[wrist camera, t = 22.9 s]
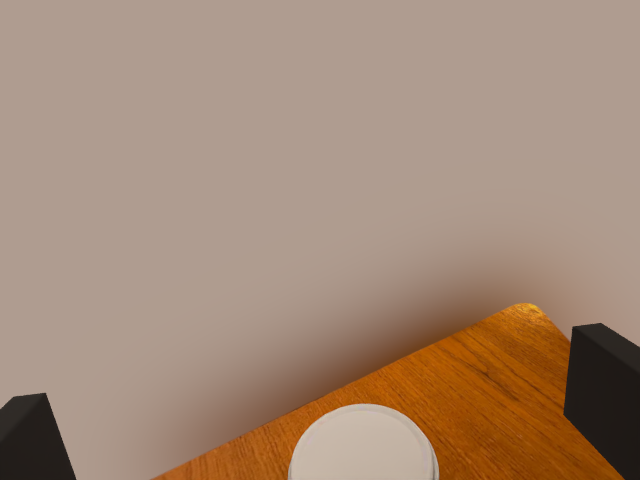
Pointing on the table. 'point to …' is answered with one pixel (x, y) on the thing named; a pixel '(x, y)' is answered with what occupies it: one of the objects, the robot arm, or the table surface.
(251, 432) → the table surface
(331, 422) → the coffee cup
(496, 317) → the table surface
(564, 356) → the table surface
